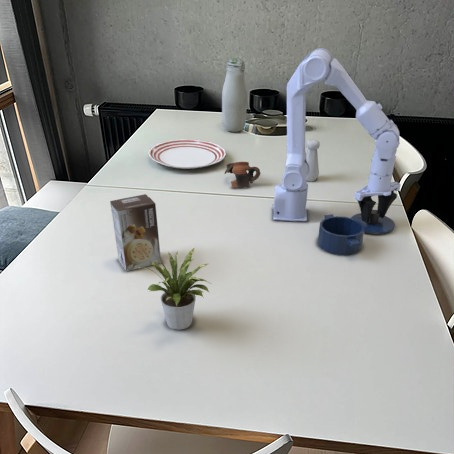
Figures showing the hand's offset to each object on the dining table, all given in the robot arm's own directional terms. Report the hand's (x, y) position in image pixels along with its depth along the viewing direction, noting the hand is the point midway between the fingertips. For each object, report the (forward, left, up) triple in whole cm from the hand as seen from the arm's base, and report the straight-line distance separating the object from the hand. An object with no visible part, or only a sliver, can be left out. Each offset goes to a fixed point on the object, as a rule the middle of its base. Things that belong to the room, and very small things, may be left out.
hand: (372, 218), depth 144 cm
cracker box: (-60, -26, -2) cm, 65 cm away
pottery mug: (-38, +26, -2) cm, 46 cm away
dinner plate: (-59, +45, -2) cm, 74 cm away
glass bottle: (-45, +81, -2) cm, 93 cm away
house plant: (-47, -50, -2) cm, 69 cm away
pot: (-10, -12, -2) cm, 16 cm away
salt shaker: (-16, +32, -2) cm, 36 cm away
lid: (0, 0, -1) cm, 1 cm away
